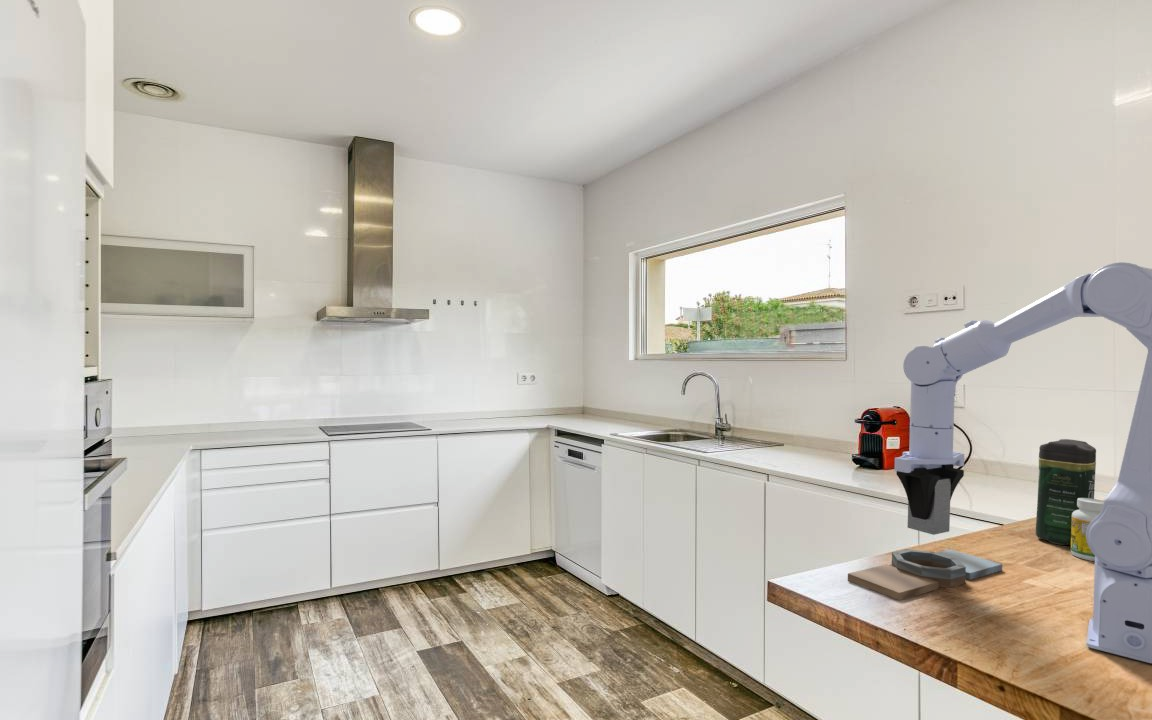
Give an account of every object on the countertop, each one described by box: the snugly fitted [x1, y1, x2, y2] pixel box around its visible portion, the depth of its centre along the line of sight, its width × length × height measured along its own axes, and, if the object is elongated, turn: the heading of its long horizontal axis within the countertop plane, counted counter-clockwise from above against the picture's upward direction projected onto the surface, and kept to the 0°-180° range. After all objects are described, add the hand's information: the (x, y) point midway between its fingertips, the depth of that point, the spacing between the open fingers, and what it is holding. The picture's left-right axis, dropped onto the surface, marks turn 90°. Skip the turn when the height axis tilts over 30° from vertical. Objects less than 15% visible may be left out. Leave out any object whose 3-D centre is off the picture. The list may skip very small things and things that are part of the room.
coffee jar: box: [1035, 438, 1097, 546], centre depth 112 cm, size 10×8×19 cm
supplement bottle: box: [1070, 498, 1104, 562], centre depth 103 cm, size 5×5×10 cm
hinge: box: [847, 548, 1003, 601], centre depth 93 cm, size 26×9×2 cm, turn 119°
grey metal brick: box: [907, 476, 951, 535], centre depth 93 cm, size 4×4×8 cm
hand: (928, 516), depth 93 cm, fingers closed on grey metal brick, 4 cm apart
